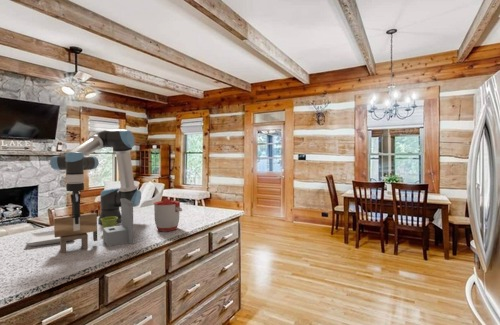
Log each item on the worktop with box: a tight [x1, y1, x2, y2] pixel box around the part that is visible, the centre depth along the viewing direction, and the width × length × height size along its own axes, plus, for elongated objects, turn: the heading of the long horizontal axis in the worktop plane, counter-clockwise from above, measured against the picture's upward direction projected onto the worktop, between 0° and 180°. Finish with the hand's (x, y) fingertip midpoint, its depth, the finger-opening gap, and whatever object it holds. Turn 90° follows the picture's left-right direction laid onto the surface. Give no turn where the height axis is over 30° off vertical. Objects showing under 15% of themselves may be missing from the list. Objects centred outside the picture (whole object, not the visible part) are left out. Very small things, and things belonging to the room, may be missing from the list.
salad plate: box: [25, 230, 60, 247], centre depth 155 cm, size 21×21×3 cm
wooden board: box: [53, 212, 98, 242], centre depth 140 cm, size 3×18×14 cm, turn 127°
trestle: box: [60, 233, 89, 254], centre depth 140 cm, size 8×11×7 cm
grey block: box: [102, 198, 135, 247], centre depth 152 cm, size 19×12×22 cm, turn 37°
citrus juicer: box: [153, 197, 183, 232], centre depth 176 cm, size 16×17×20 cm
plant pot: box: [101, 217, 118, 229], centre depth 169 cm, size 9×9×9 cm
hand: (76, 229), depth 140 cm, fingers closed on wooden board, 3 cm apart
